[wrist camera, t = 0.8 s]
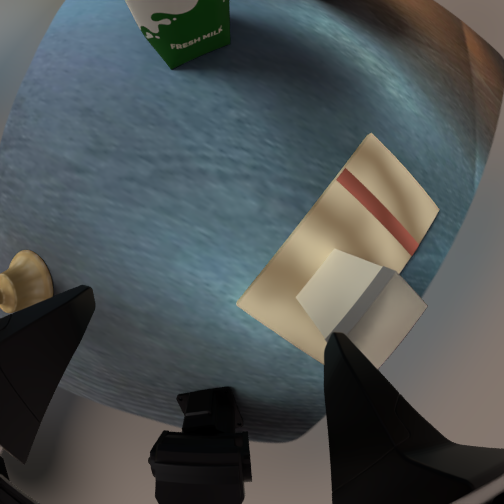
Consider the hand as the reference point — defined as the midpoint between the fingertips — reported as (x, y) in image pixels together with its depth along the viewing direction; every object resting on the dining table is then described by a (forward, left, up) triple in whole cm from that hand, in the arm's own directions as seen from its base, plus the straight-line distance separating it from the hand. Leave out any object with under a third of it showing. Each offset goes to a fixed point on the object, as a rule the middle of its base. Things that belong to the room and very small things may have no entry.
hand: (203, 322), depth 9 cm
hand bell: (+2, +25, -17) cm, 30 cm away
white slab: (-6, -9, -16) cm, 19 cm away
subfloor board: (-3, -12, -17) cm, 21 cm away
